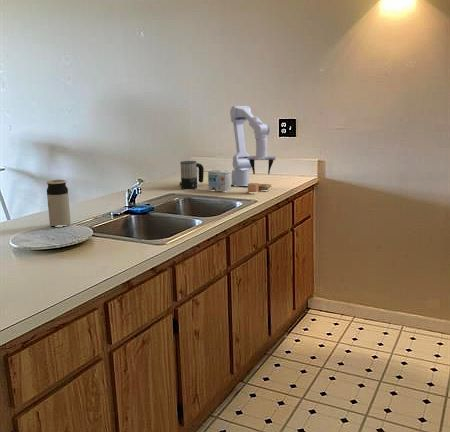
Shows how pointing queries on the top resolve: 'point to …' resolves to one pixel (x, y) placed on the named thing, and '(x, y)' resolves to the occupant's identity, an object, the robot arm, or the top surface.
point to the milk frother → (190, 174)
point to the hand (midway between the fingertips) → (261, 174)
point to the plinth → (264, 186)
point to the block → (253, 187)
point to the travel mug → (58, 203)
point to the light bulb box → (219, 180)
